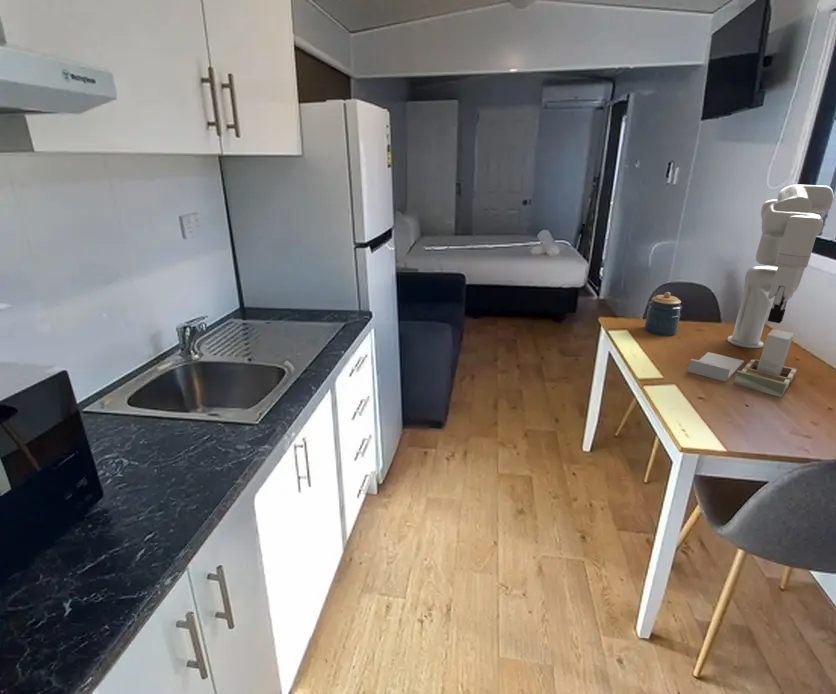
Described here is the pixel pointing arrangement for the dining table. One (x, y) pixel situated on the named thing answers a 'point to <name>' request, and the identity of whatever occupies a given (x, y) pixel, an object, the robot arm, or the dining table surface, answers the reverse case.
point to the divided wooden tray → (764, 379)
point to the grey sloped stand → (715, 366)
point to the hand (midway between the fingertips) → (774, 321)
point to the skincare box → (775, 352)
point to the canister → (663, 315)
